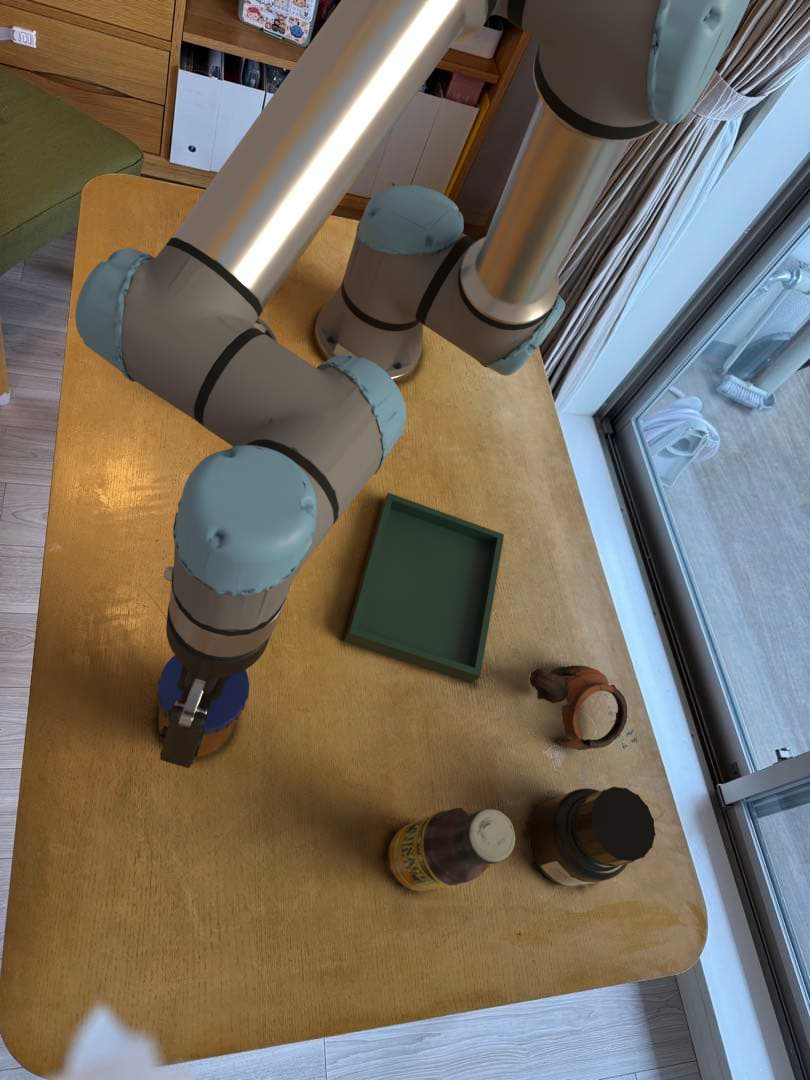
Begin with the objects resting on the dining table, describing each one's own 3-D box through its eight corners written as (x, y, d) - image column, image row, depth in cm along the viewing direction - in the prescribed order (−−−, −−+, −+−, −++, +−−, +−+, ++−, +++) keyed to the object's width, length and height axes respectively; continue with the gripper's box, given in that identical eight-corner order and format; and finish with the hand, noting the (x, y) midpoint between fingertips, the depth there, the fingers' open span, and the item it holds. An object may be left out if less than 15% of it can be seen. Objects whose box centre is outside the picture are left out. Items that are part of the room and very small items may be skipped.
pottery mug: (601, 676, 95) (646, 691, 87) (571, 748, 94) (614, 769, 86) (525, 638, 90) (565, 650, 83) (493, 714, 89) (531, 733, 82)
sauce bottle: (382, 827, 78) (449, 786, 61) (440, 824, 80) (520, 784, 63) (386, 898, 75) (459, 875, 58) (447, 894, 77) (533, 870, 60)
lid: (176, 640, 71) (177, 632, 70) (258, 666, 73) (261, 659, 71) (143, 720, 67) (143, 714, 66) (230, 746, 68) (233, 741, 67)
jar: (174, 677, 79) (179, 639, 70) (242, 698, 80) (255, 663, 71) (146, 744, 75) (149, 713, 66) (218, 765, 76) (230, 737, 67)
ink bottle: (537, 897, 79) (595, 885, 69) (513, 808, 83) (565, 785, 73) (616, 876, 83) (682, 861, 73) (589, 792, 86) (648, 767, 76)
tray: (382, 503, 97) (387, 492, 95) (496, 543, 99) (504, 534, 97) (343, 641, 86) (348, 632, 84) (472, 683, 89) (480, 676, 86)
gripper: (220, 478, 59) (199, 600, 78) (110, 733, 48) (116, 803, 67) (313, 511, 60) (269, 623, 79) (227, 767, 49) (200, 827, 68)
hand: (199, 705), depth 73 cm, fingers closed on lid, 8 cm apart
